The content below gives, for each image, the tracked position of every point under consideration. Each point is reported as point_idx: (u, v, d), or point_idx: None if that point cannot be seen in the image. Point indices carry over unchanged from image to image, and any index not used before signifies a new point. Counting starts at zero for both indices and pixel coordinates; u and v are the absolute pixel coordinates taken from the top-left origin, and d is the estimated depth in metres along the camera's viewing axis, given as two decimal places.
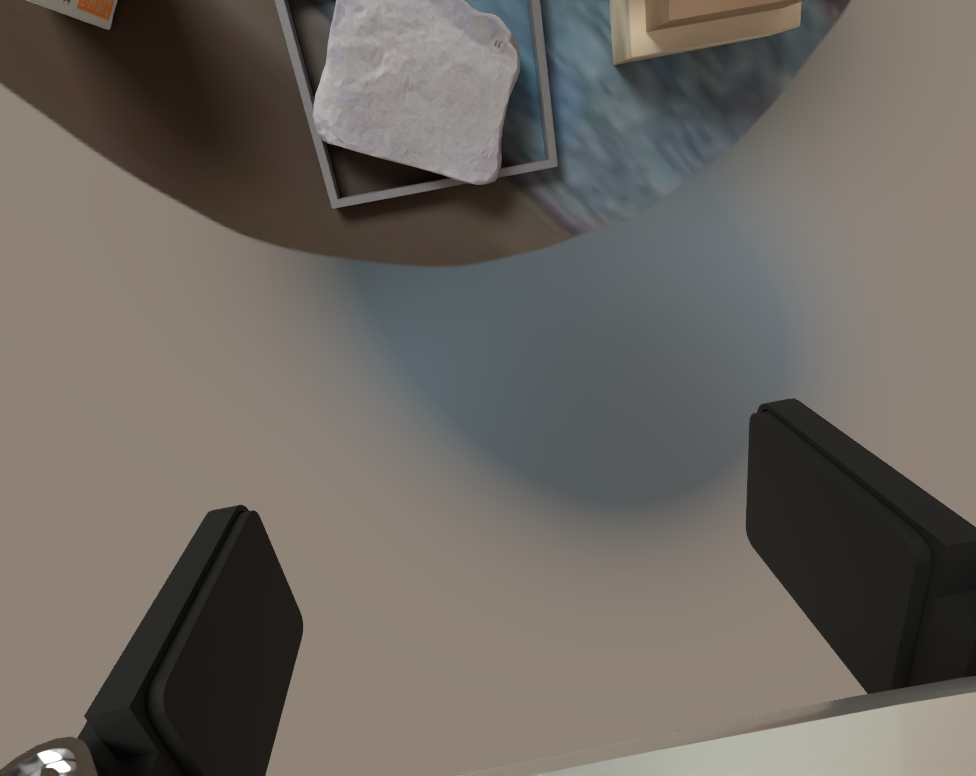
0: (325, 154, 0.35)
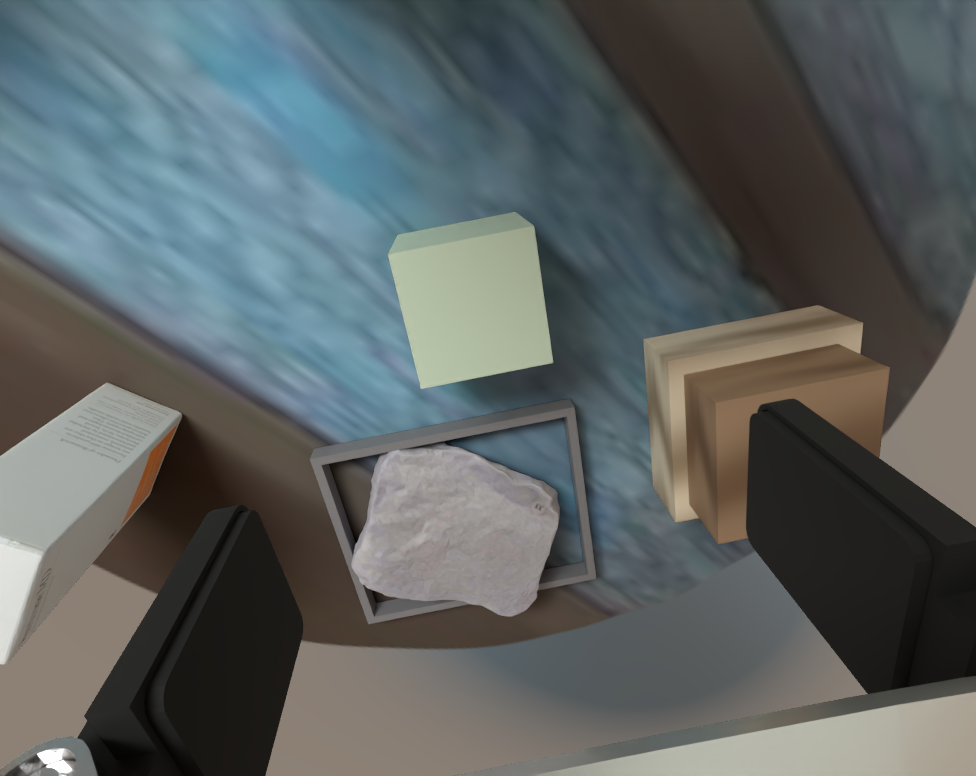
0: None
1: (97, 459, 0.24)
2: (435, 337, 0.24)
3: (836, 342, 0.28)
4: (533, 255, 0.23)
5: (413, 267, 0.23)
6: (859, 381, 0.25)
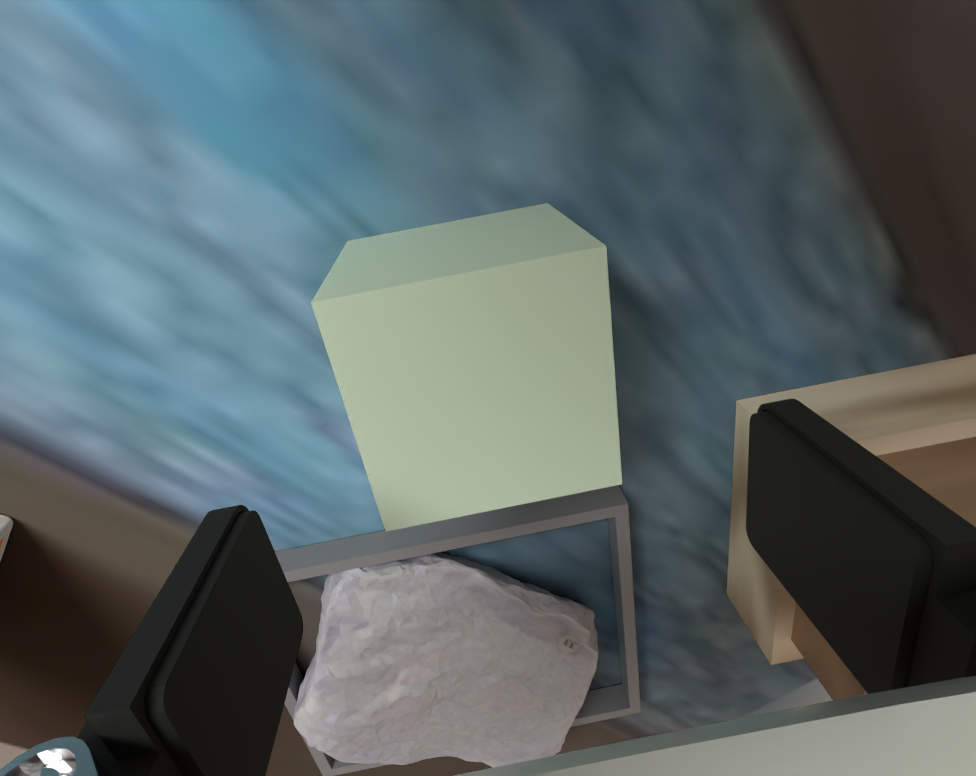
0: None
1: None
2: (410, 448, 0.13)
3: None
4: (600, 302, 0.12)
5: (364, 325, 0.11)
6: None
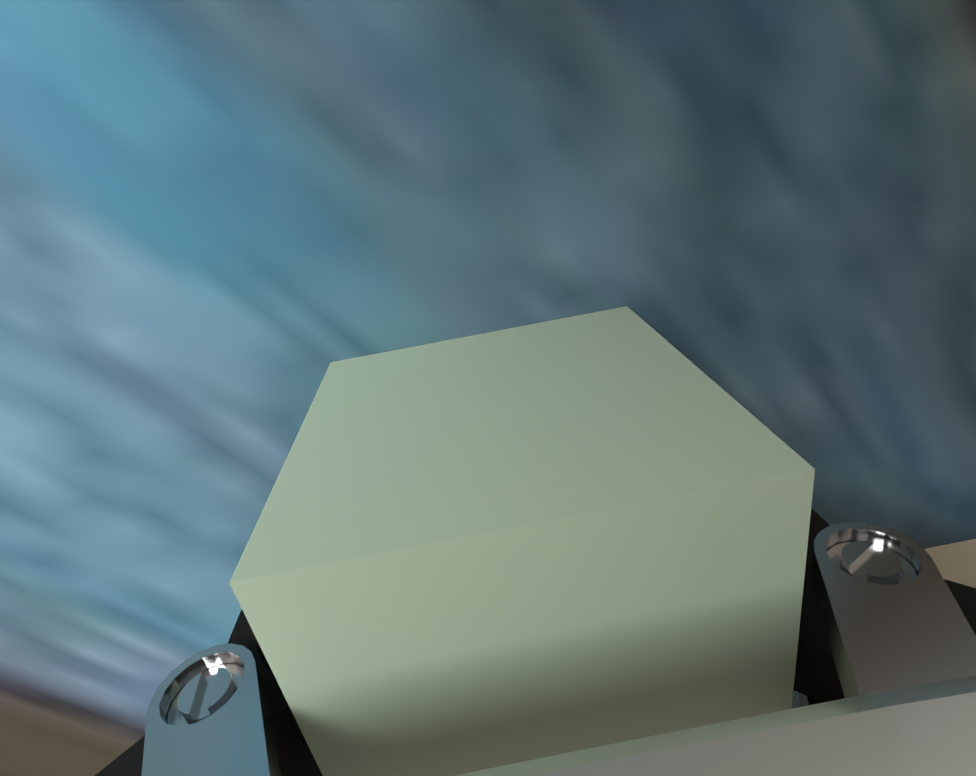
0: None
1: None
2: None
3: None
4: (789, 560, 0.06)
5: (336, 614, 0.06)
6: None
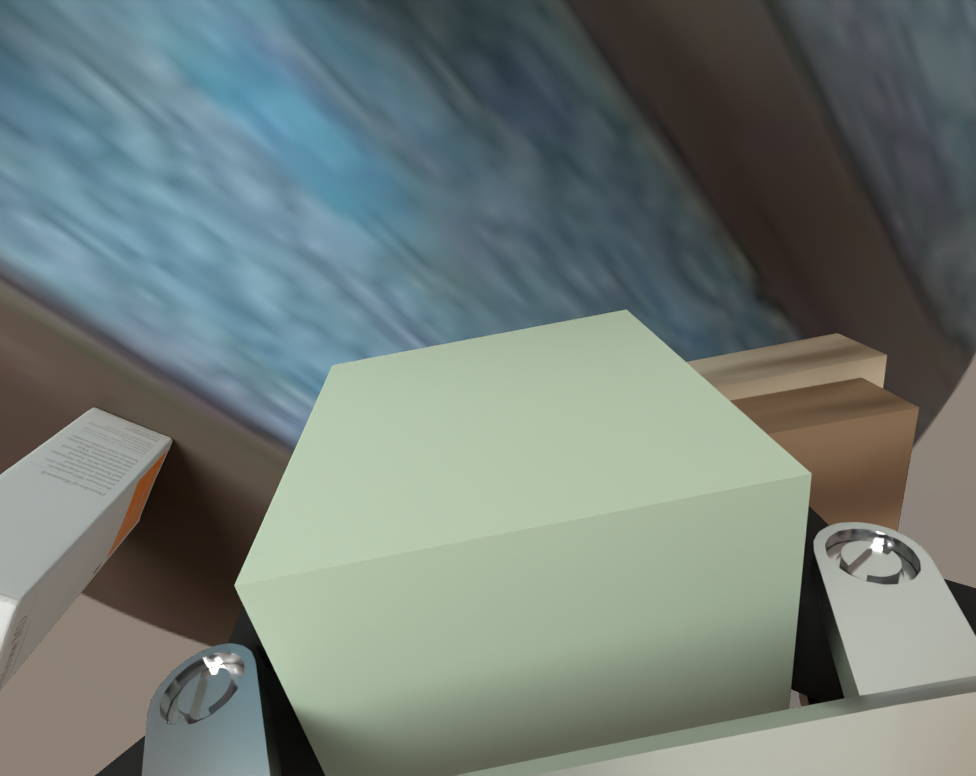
0: None
1: (80, 493, 0.23)
2: None
3: (859, 375, 0.27)
4: (786, 563, 0.06)
5: (339, 617, 0.06)
6: (887, 421, 0.24)
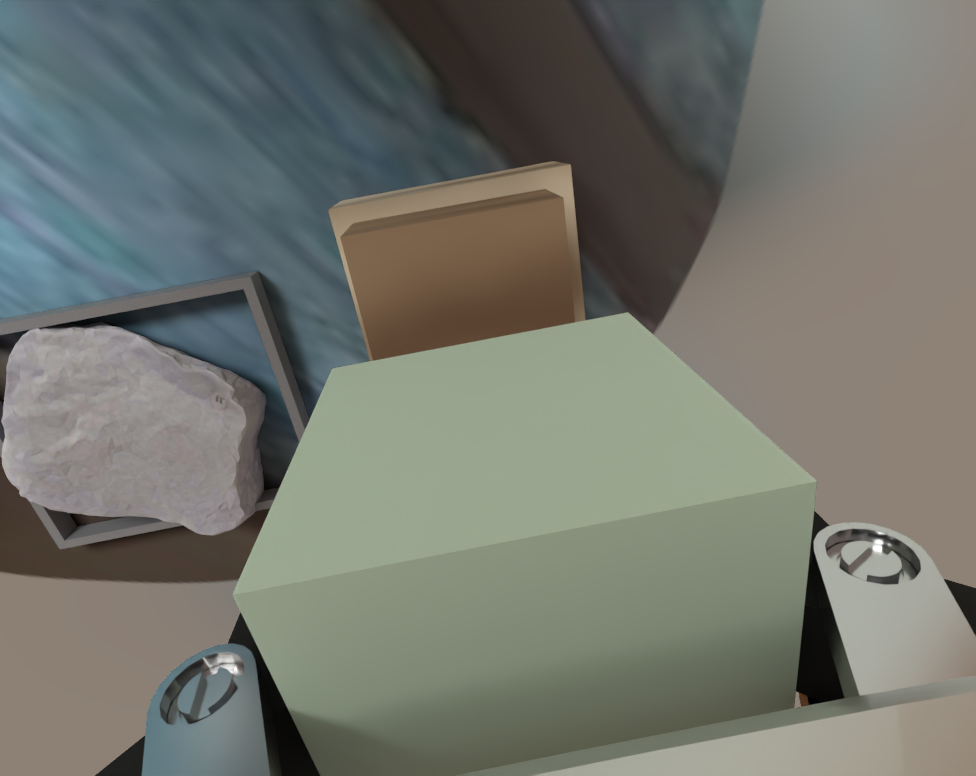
0: None
1: None
2: None
3: None
4: (791, 571, 0.06)
5: (338, 627, 0.06)
6: (527, 215, 0.20)
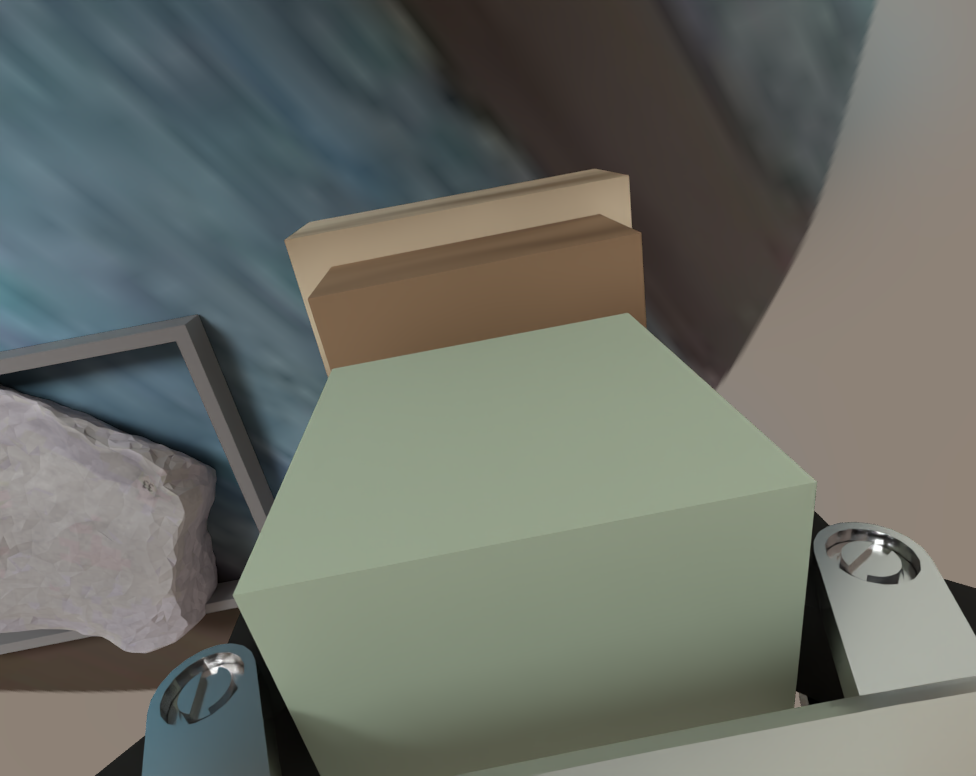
0: None
1: None
2: None
3: (586, 212, 0.16)
4: (791, 571, 0.06)
5: (339, 626, 0.06)
6: (587, 260, 0.13)
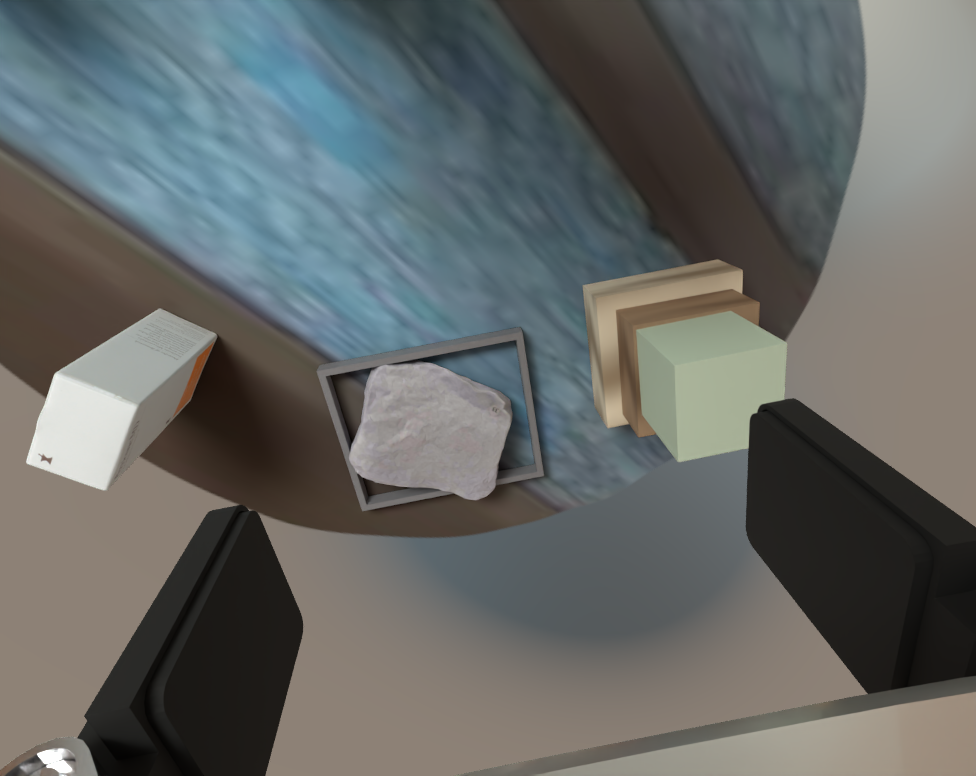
0: (357, 476, 0.44)
1: (162, 356, 0.33)
2: (697, 424, 0.30)
3: (723, 285, 0.37)
4: (782, 364, 0.29)
5: (691, 374, 0.29)
6: (738, 312, 0.34)
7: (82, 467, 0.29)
